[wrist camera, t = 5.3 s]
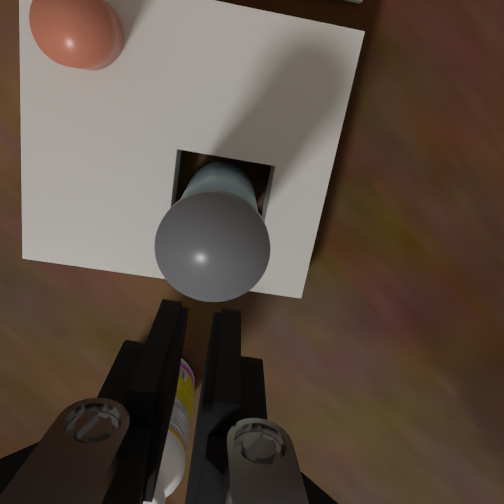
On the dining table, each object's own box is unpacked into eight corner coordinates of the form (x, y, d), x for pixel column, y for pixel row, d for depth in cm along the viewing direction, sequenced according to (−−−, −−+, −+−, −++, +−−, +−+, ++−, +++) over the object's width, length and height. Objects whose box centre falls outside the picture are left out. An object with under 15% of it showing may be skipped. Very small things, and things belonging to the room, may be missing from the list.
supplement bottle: (131, 414, 38) (83, 561, 26) (110, 353, 36) (46, 483, 24) (204, 401, 38) (189, 544, 26) (187, 339, 36) (162, 464, 24)
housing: (352, 37, 28) (365, 31, 25) (295, 281, 34) (301, 298, 31) (42, -26, 26) (18, -41, 23) (41, 244, 32) (22, 258, 29)
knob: (135, 9, 26) (110, -12, 21) (131, 77, 28) (106, 73, 23) (70, -4, 26) (28, -28, 21) (68, 66, 27) (29, 59, 22)
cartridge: (264, 164, 31) (280, 203, 20) (251, 236, 33) (259, 309, 22) (188, 151, 30) (160, 184, 19) (179, 225, 32) (149, 293, 21)
